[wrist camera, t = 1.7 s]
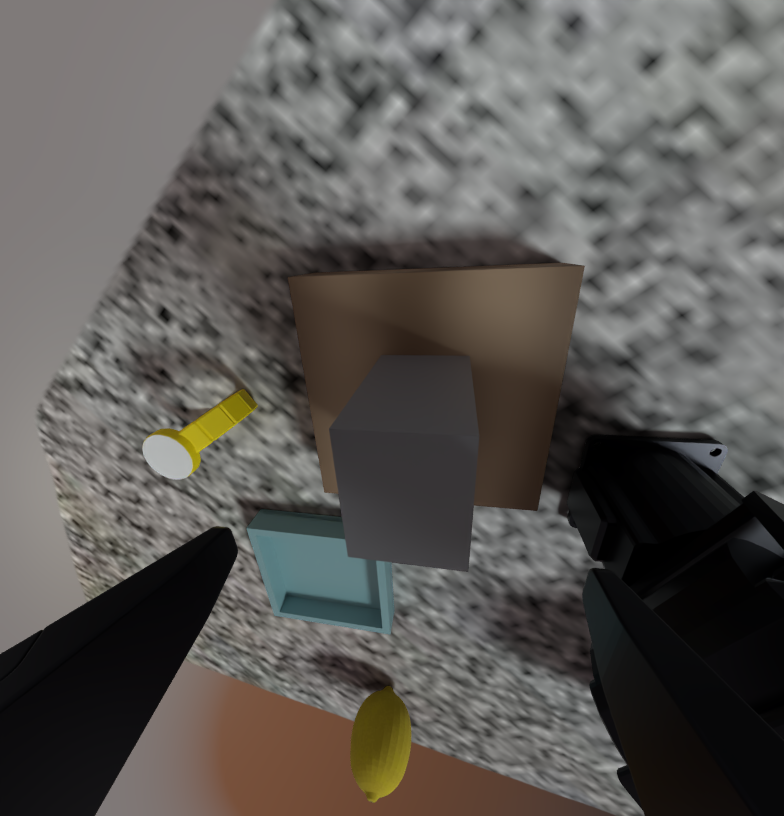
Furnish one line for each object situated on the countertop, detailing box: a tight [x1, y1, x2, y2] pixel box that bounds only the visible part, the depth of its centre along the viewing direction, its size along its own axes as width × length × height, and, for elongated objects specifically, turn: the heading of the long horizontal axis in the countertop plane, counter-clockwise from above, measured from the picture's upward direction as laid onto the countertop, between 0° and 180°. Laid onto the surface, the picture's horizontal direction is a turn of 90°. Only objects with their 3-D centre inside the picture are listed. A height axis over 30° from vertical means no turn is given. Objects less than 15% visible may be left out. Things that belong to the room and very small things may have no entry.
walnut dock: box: [288, 263, 585, 511], centre depth 17 cm, size 12×12×3 cm
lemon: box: [350, 686, 411, 802], centre depth 30 cm, size 6×6×8 cm
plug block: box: [329, 355, 479, 572], centre depth 13 cm, size 4×5×7 cm
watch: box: [142, 389, 258, 480], centre depth 19 cm, size 6×3×6 cm, turn 125°
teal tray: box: [246, 509, 394, 634], centre depth 26 cm, size 10×10×2 cm
